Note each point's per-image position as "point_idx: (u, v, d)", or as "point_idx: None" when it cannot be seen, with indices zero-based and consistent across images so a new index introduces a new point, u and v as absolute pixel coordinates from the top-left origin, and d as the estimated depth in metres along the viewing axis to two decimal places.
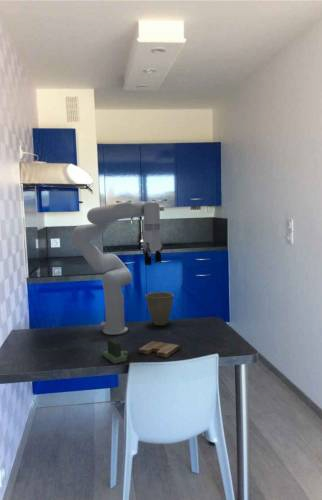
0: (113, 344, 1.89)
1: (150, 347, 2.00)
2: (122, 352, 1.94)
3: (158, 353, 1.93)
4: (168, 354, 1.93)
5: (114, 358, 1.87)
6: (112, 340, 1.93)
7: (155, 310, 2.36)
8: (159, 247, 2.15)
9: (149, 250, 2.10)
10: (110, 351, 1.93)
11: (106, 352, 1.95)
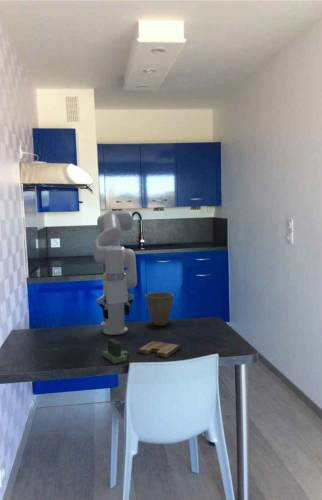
0: (113, 344, 1.89)
1: (150, 347, 2.00)
2: (122, 352, 1.94)
3: (158, 353, 1.93)
4: (168, 354, 1.93)
5: (114, 358, 1.87)
6: (112, 340, 1.93)
7: (155, 310, 2.36)
8: (123, 299, 1.91)
9: (107, 302, 1.89)
10: (110, 351, 1.93)
11: (106, 352, 1.95)
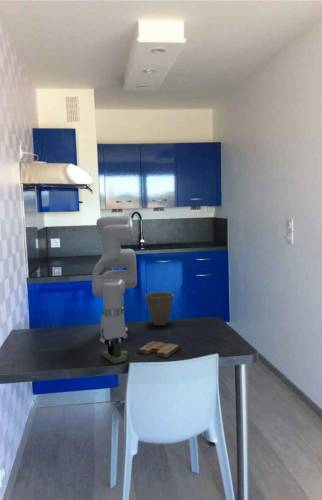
0: (113, 344, 1.89)
1: (150, 347, 2.00)
2: (122, 352, 1.94)
3: (158, 353, 1.93)
4: (168, 354, 1.93)
5: (114, 358, 1.87)
6: (112, 340, 1.93)
7: (155, 310, 2.36)
8: (121, 334, 1.91)
9: (108, 339, 1.90)
10: None
11: (106, 352, 1.95)
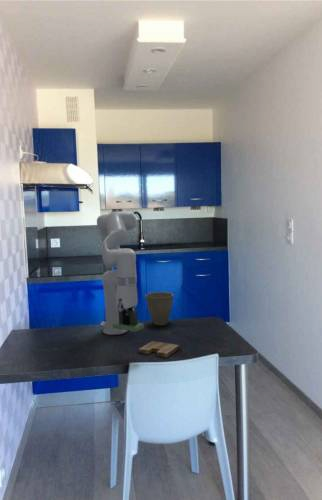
0: (130, 313, 1.88)
1: (150, 347, 2.00)
2: None
3: (158, 353, 1.93)
4: (168, 354, 1.93)
5: (135, 326, 1.86)
6: (125, 310, 1.90)
7: (155, 310, 2.36)
8: (135, 302, 1.91)
9: (125, 309, 1.87)
10: None
11: (118, 324, 1.91)
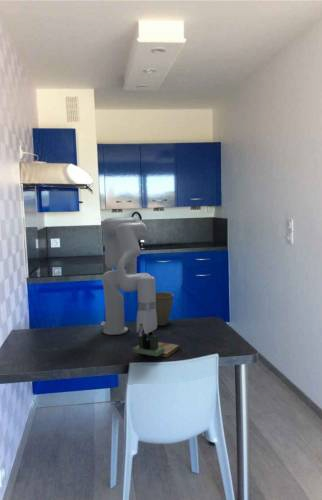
0: (151, 337, 1.89)
1: None
2: None
3: None
4: (168, 354, 1.93)
5: (155, 351, 1.87)
6: None
7: None
8: (155, 326, 1.92)
9: (146, 333, 1.88)
10: None
11: (138, 348, 1.92)
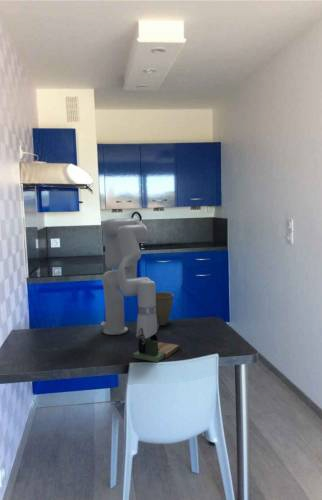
0: (151, 343, 1.89)
1: None
2: None
3: None
4: (168, 354, 1.93)
5: (156, 357, 1.87)
6: None
7: None
8: (155, 331, 1.92)
9: (143, 336, 1.87)
10: None
11: (138, 353, 1.92)
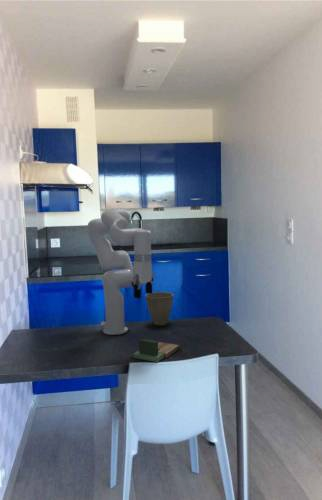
0: (151, 343, 1.89)
1: None
2: None
3: None
4: (168, 354, 1.93)
5: (156, 357, 1.87)
6: (145, 340, 1.92)
7: (155, 310, 2.36)
8: (150, 278, 2.03)
9: (139, 282, 1.98)
10: (144, 351, 1.91)
11: (138, 353, 1.92)
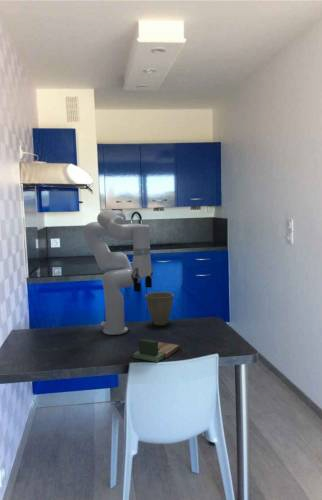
0: (151, 343, 1.89)
1: None
2: None
3: None
4: (168, 354, 1.93)
5: (156, 357, 1.87)
6: (145, 340, 1.92)
7: (155, 310, 2.36)
8: (149, 272, 2.06)
9: (138, 276, 2.00)
10: (144, 351, 1.91)
11: (138, 353, 1.92)
